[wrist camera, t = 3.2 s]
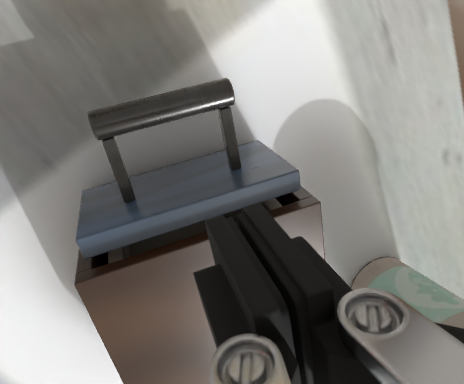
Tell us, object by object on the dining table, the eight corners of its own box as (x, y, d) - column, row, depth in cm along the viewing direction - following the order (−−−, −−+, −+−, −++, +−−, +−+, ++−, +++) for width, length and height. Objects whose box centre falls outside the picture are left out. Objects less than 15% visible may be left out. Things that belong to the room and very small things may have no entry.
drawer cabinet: (83, 211, 23) (73, 284, 17) (265, 156, 26) (320, 201, 19) (148, 362, 30) (160, 458, 23) (287, 308, 32) (334, 380, 26)
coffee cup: (429, 268, 36) (560, 367, 26) (369, 330, 37) (472, 449, 27) (385, 227, 32) (521, 324, 21) (320, 297, 33) (419, 422, 22)
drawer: (48, 110, 19) (28, 139, 14) (246, 62, 22) (289, 72, 17) (146, 345, 28) (155, 415, 23) (282, 293, 30) (318, 346, 25)
